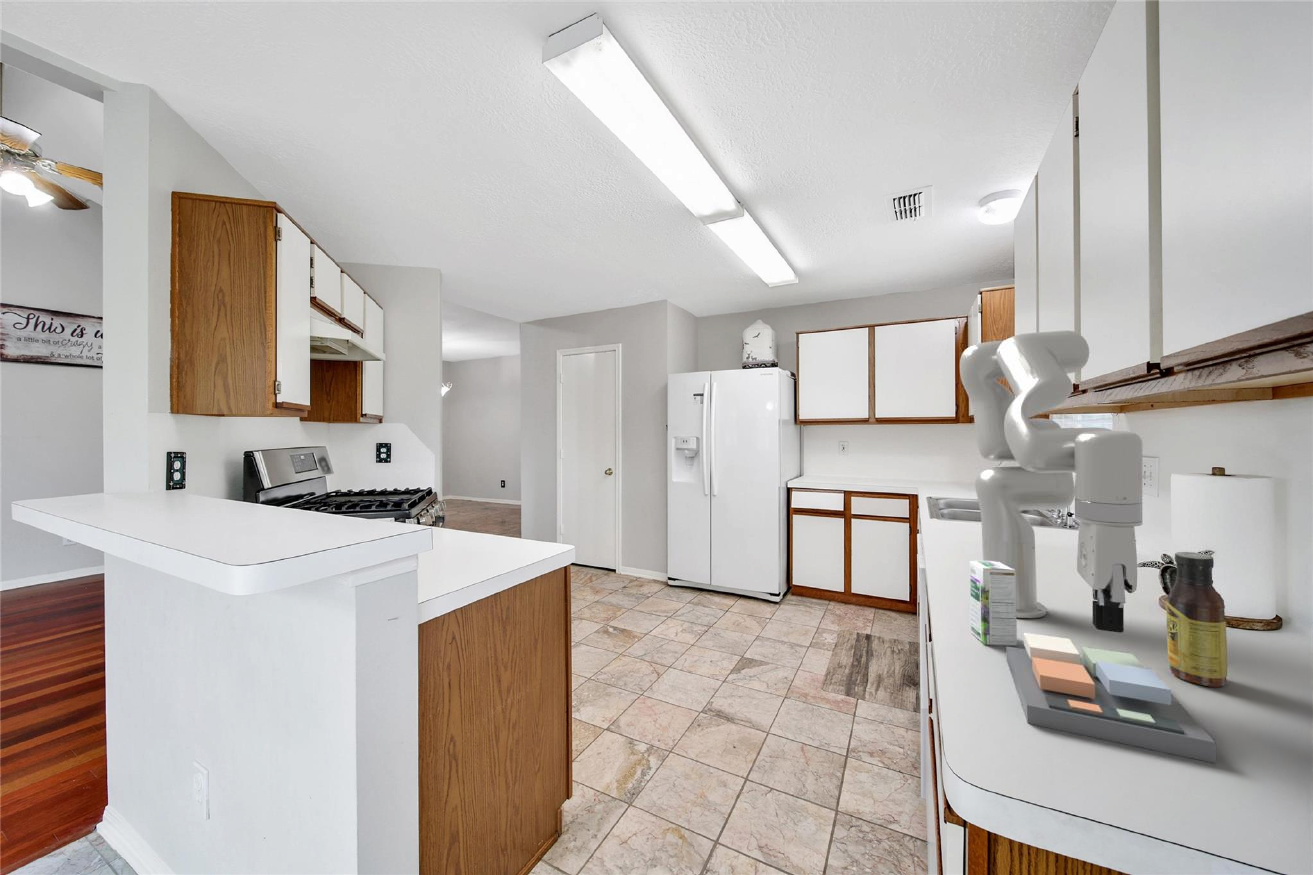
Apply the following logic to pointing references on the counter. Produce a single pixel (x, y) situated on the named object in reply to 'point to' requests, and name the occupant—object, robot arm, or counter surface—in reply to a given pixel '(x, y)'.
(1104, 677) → the blue key
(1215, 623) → the sauce bottle
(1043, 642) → the cream key
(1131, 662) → the sage key
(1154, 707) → the keypad
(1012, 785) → the counter surface
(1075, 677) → the terracotta key
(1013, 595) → the syrup box
